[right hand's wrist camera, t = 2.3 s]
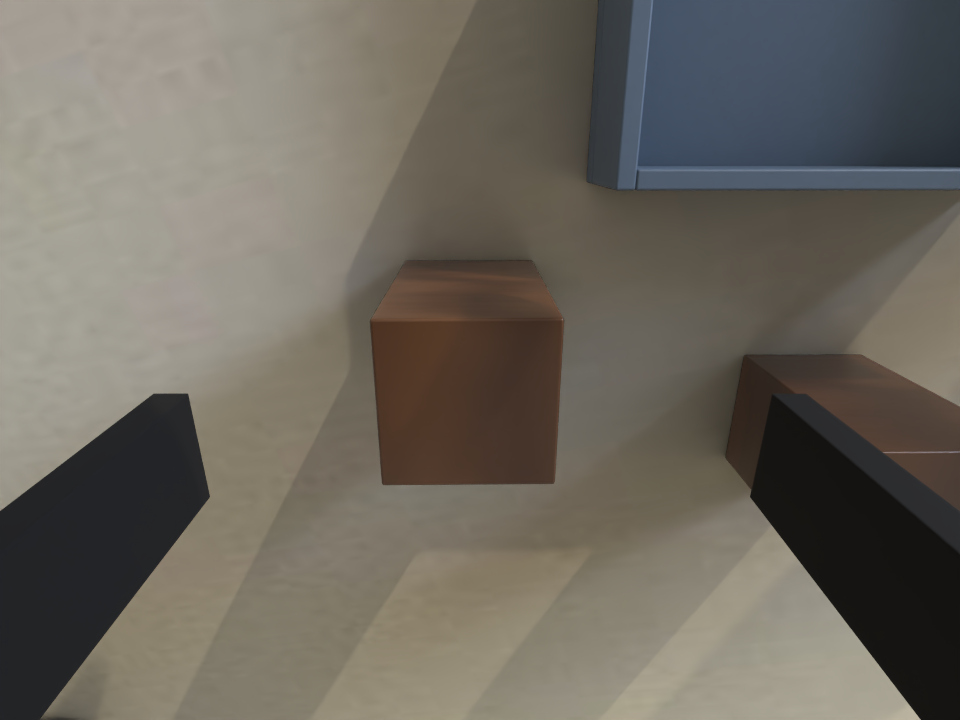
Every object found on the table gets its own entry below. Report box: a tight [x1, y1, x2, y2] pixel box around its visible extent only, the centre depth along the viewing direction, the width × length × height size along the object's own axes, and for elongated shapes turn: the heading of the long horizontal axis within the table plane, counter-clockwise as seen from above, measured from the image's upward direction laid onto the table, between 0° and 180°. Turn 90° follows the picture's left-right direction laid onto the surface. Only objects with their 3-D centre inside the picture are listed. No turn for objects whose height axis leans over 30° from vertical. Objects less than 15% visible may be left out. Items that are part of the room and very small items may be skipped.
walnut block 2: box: [726, 355, 960, 511], centre depth 20 cm, size 5×5×8 cm
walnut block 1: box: [370, 260, 564, 485], centre depth 19 cm, size 5×5×8 cm
